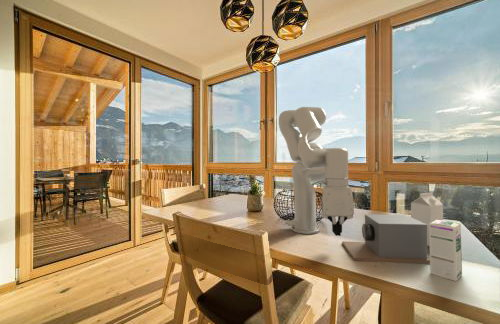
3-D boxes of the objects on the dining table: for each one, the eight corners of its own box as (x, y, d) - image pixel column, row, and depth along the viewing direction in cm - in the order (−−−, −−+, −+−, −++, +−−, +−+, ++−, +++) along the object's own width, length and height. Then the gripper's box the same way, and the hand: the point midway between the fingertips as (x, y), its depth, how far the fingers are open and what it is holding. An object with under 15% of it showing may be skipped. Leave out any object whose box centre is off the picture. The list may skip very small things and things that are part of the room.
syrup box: (456, 282, 58) (456, 227, 58) (429, 273, 63) (428, 222, 63) (462, 275, 62) (462, 223, 62) (435, 267, 67) (435, 218, 66)
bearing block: (354, 260, 72) (353, 224, 71) (342, 243, 85) (341, 213, 85) (432, 263, 68) (432, 225, 68) (407, 245, 82) (406, 214, 82)
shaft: (368, 243, 75) (367, 226, 75) (362, 237, 80) (361, 221, 80) (427, 245, 72) (427, 227, 72) (417, 238, 78) (416, 222, 78)
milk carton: (410, 240, 87) (410, 192, 87) (422, 238, 90) (422, 191, 89) (431, 247, 81) (430, 195, 80) (443, 244, 83) (443, 193, 83)
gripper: (316, 184, 76) (317, 237, 76) (363, 184, 74) (363, 238, 75) (313, 181, 83) (313, 230, 84) (355, 181, 82) (355, 231, 82)
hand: (337, 234), depth 79 cm, fingers closed
